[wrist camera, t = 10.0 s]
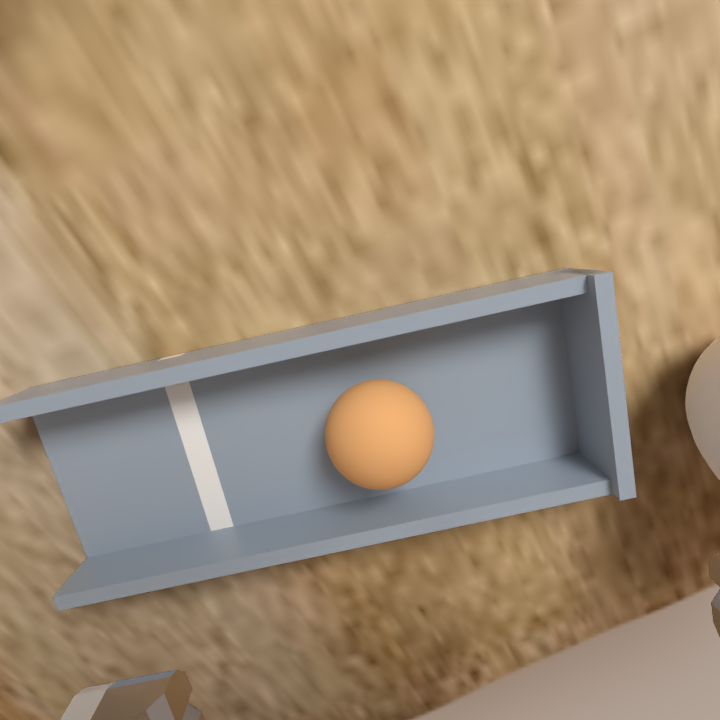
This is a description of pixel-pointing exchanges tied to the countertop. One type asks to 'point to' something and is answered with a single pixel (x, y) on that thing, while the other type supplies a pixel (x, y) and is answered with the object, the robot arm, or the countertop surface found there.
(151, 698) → the robot arm
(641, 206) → the countertop surface
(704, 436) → the sauce bottle
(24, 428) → the countertop surface
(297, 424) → the lane
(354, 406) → the ball
